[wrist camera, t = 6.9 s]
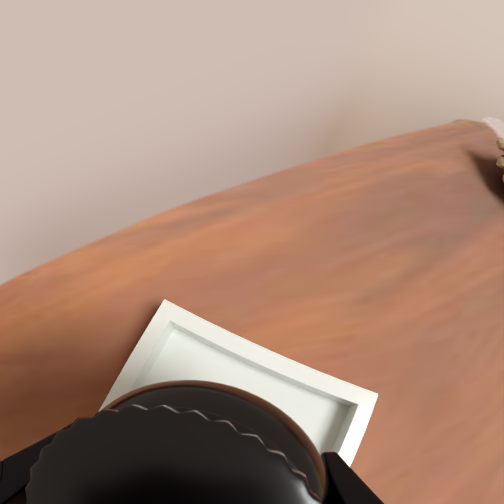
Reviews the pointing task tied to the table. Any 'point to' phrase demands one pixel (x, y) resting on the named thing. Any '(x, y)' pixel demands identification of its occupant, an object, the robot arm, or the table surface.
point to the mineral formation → (502, 160)
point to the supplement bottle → (181, 452)
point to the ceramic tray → (248, 377)
